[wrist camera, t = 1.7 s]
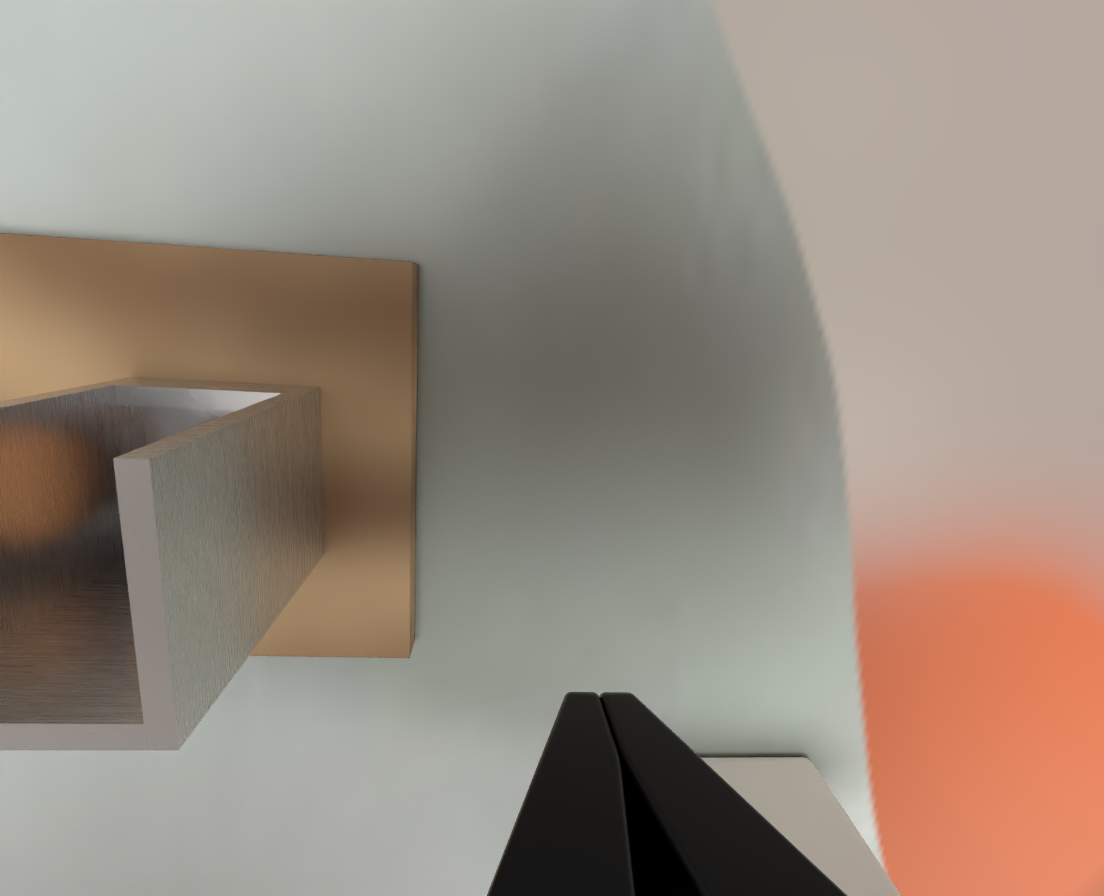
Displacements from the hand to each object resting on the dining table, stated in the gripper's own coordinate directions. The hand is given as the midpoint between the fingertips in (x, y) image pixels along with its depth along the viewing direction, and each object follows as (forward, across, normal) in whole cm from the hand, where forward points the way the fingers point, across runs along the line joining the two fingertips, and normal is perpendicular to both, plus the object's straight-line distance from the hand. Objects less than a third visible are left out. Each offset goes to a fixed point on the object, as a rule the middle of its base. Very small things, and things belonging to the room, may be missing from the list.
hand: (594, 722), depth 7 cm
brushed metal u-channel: (+10, +9, 0) cm, 14 cm away
